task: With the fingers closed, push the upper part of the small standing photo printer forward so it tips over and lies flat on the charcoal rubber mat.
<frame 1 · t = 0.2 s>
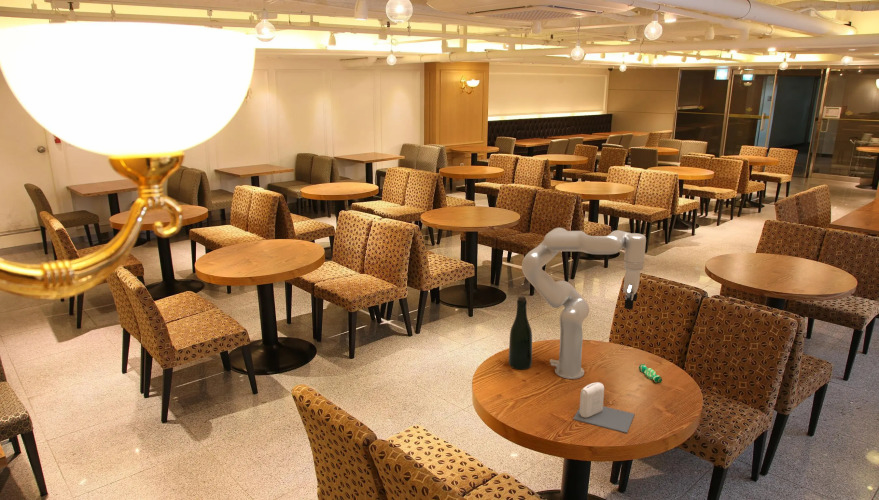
hand: (630, 304, 239), 36 cm above the table, tool pointing down, fingers open, 9 cm apart
rubber mat: (604, 417, 225), on the table
photo printer: (591, 413, 228), resting on rubber mat
dark green wine bottle: (520, 365, 268), on the table
candy: (649, 377, 256), on the table
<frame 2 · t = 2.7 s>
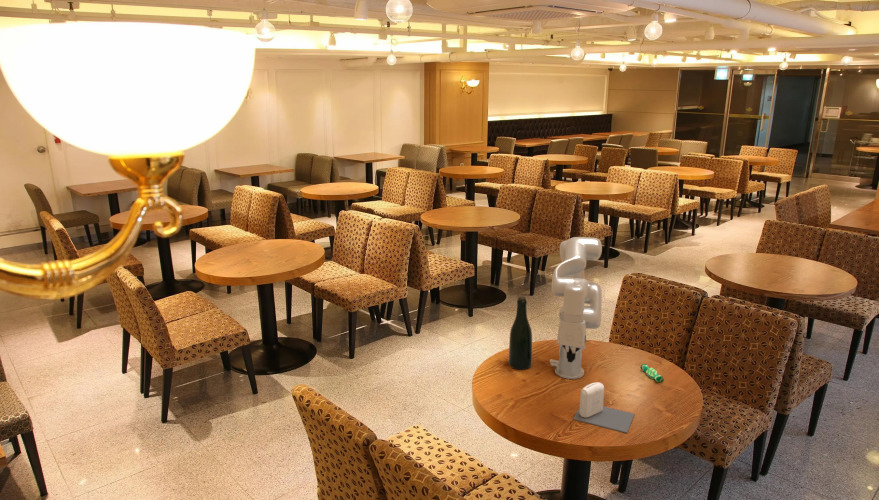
hand: (570, 360, 226), 21 cm above the table, tool pointing down, fingers closed
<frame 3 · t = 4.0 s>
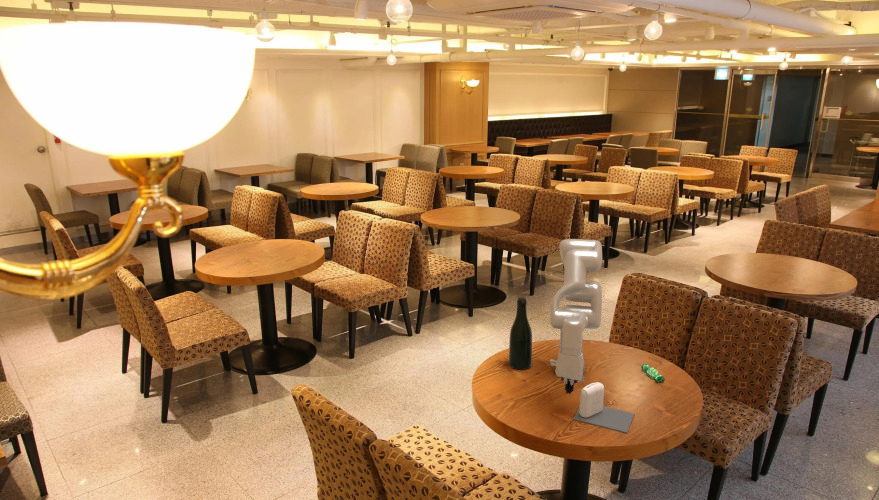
hand: (569, 392, 230), 7 cm above the table, tool pointing down, fingers closed
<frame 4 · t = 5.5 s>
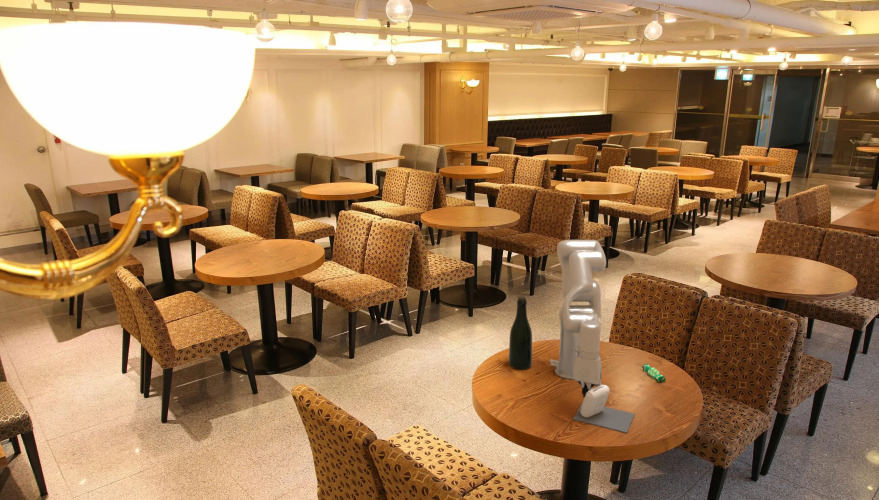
hand: (586, 396, 227), 7 cm above the table, tool pointing down, fingers closed
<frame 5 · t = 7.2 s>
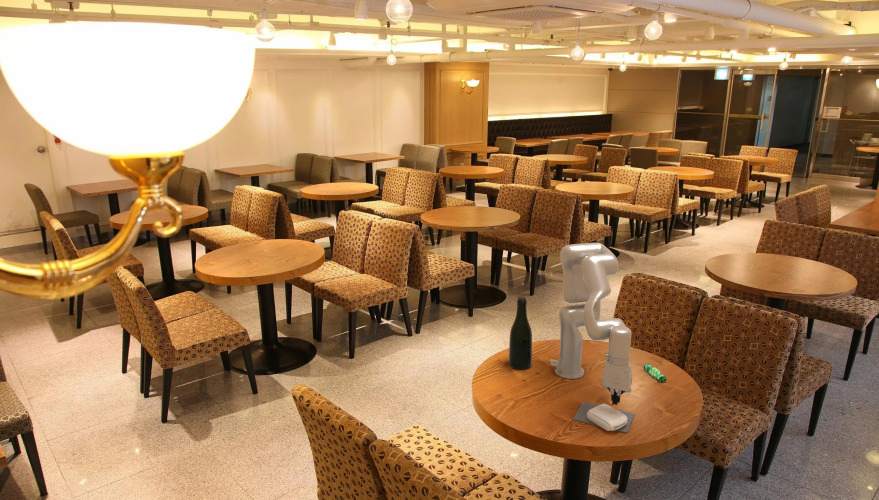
hand: (615, 403, 222), 7 cm above the table, tool pointing down, fingers closed
photo printer: (595, 410, 225), point 3 cm above the table, touching rubber mat
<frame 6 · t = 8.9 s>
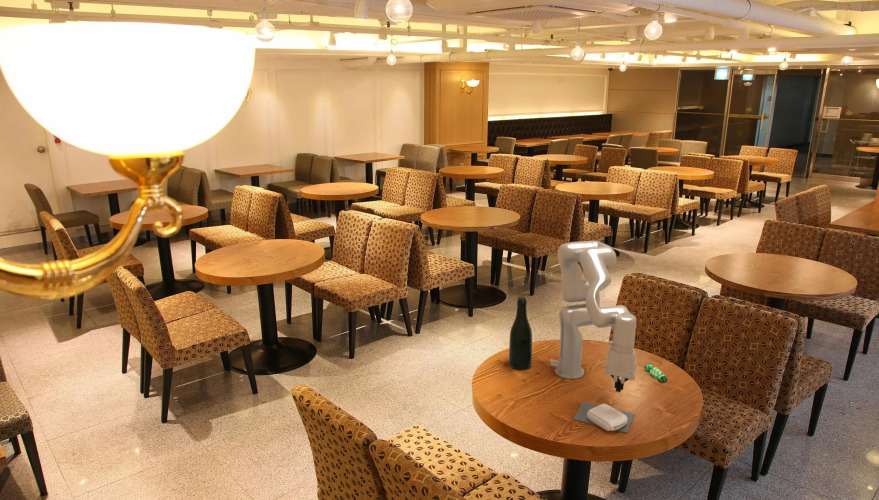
hand: (618, 390, 220), 12 cm above the table, tool pointing down, fingers closed
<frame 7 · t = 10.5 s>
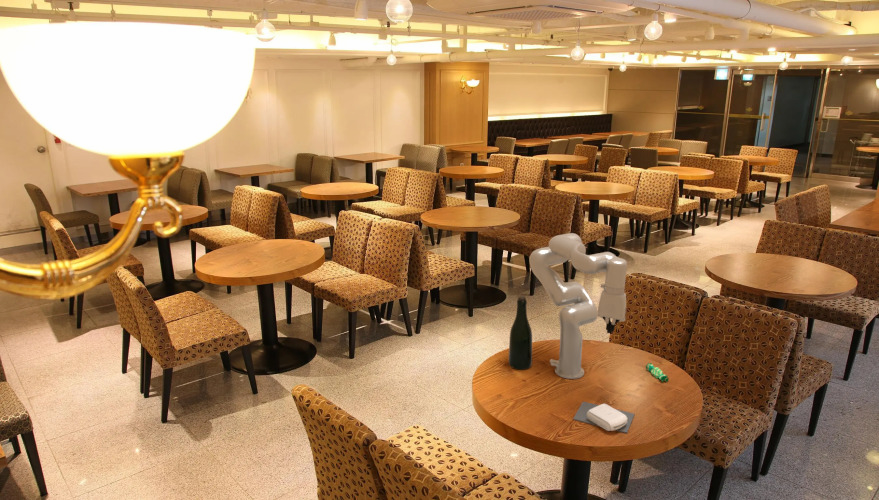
hand: (609, 332, 234), 28 cm above the table, tool pointing down, fingers closed
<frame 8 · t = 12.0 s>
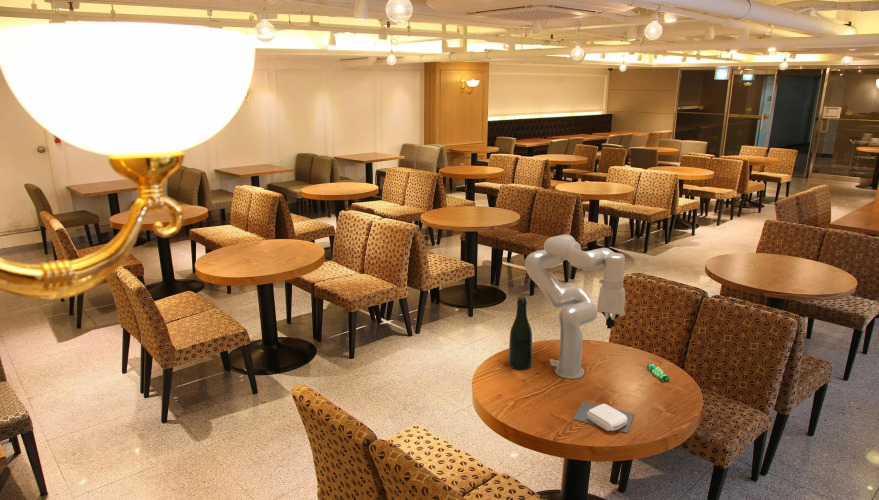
hand: (609, 327, 235), 29 cm above the table, tool pointing down, fingers closed
at the end: photo printer tilted 90°; photo printer inside the target area (5.4 cm from its centre), point 2.6 cm above the table; the gripper is holding nothing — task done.
